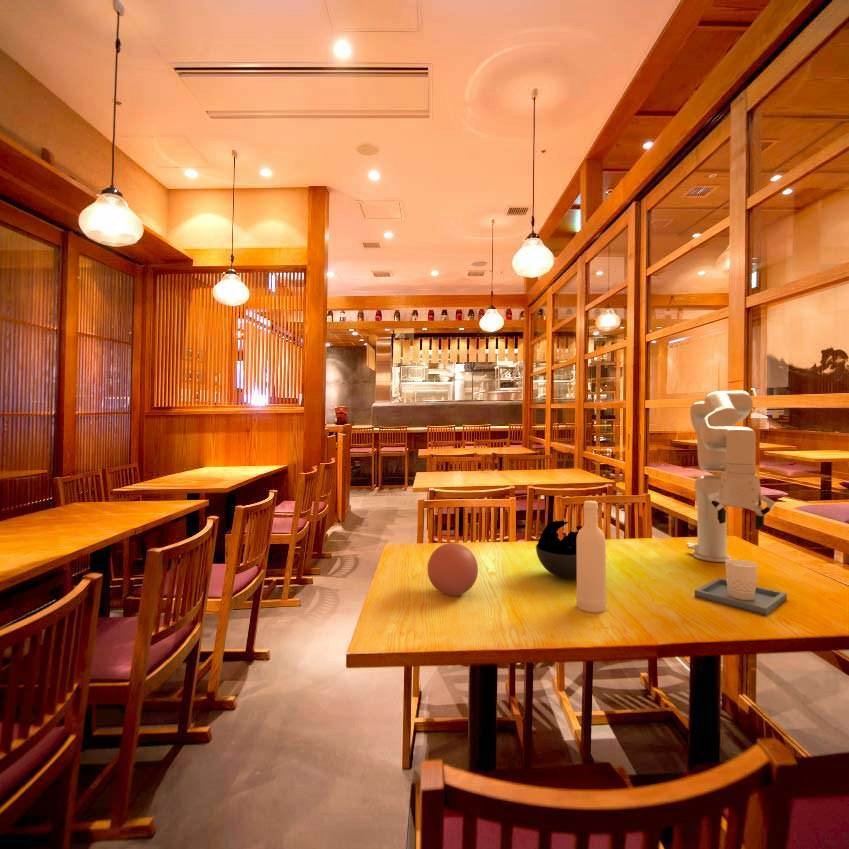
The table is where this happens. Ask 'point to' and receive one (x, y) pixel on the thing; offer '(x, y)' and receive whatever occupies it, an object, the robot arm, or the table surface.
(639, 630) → the table surface
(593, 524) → the bottle
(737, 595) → the white cup
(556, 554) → the bowl of black rocks
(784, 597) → the serving tray
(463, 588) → the brown rubber ball
